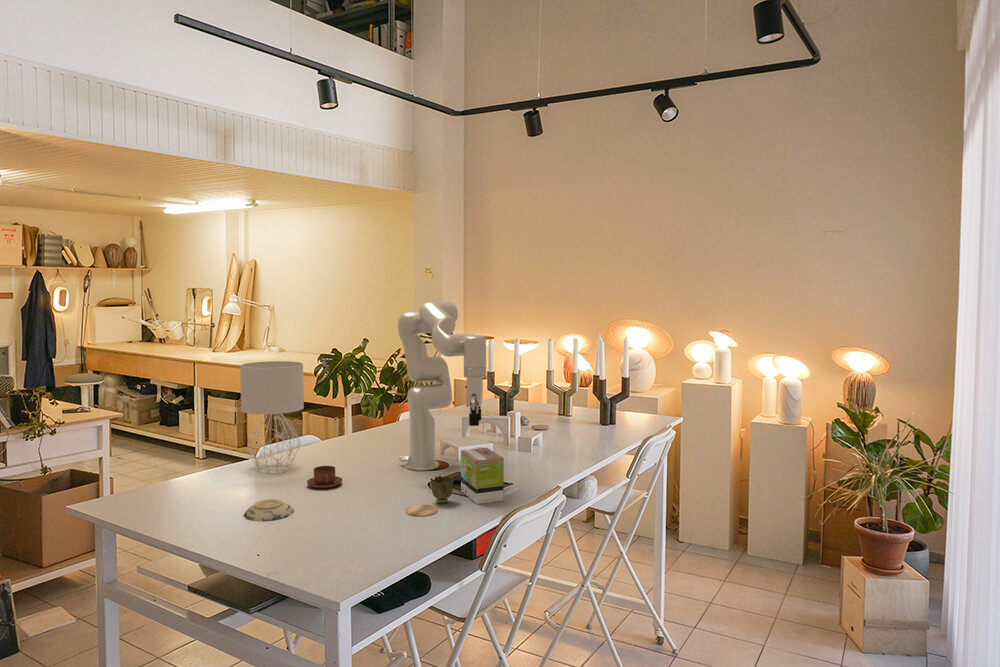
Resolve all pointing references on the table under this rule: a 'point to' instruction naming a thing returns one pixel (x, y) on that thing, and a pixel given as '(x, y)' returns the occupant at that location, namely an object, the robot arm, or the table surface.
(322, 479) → the cup and saucer
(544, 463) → the table surface
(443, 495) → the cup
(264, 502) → the decorative bowl
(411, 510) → the cork coaster
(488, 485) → the tea box
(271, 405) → the table lamp
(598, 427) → the table surface
